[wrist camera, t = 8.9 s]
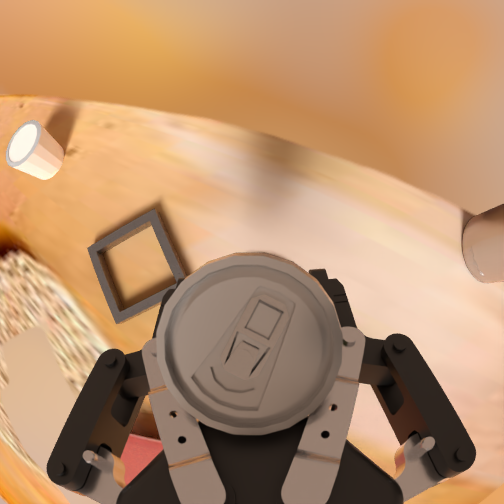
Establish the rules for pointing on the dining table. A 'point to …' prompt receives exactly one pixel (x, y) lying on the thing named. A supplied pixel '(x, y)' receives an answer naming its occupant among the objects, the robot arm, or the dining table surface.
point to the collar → (120, 236)
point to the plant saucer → (139, 454)
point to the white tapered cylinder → (34, 151)
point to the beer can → (249, 344)
